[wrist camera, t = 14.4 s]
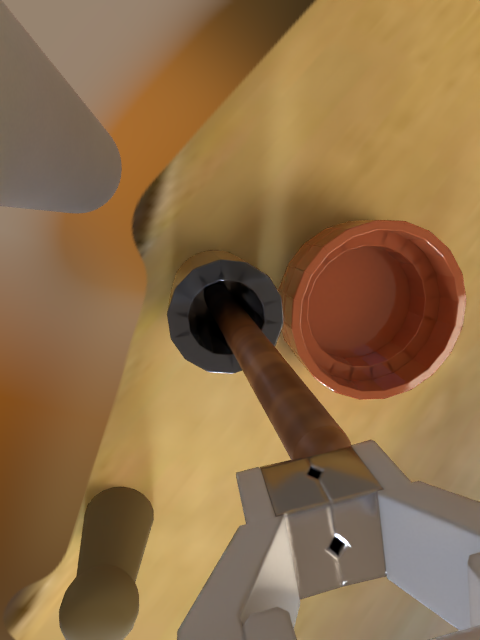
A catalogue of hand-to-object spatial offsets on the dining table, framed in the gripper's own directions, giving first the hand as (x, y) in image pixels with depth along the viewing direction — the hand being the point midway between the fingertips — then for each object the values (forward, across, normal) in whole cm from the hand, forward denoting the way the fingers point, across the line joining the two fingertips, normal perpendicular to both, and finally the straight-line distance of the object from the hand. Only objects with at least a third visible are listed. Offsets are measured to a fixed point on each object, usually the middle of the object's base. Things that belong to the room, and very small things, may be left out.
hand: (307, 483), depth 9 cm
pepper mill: (+26, +12, +18) cm, 35 cm away
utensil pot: (+26, 0, 0) cm, 26 cm away
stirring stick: (+25, 0, 0) cm, 25 cm away
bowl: (+26, -11, +3) cm, 29 cm away
